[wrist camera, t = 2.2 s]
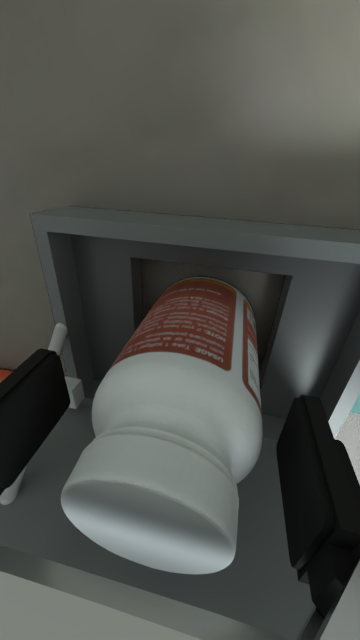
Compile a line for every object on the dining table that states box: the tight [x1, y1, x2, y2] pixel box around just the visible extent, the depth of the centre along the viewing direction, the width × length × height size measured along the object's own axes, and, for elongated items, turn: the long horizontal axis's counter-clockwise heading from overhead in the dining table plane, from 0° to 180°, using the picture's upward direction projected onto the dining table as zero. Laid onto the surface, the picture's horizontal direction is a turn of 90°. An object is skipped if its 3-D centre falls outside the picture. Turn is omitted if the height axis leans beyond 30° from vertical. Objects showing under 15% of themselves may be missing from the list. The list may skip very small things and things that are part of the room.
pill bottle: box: [61, 277, 263, 574], centre depth 11 cm, size 6×6×11 cm
